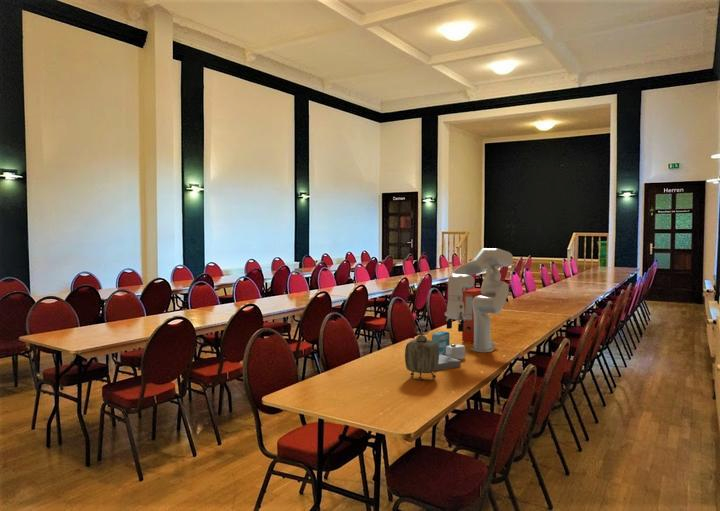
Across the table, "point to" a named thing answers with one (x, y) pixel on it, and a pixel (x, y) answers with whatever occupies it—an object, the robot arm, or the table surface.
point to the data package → (441, 341)
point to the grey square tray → (447, 362)
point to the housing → (455, 351)
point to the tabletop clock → (421, 355)
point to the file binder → (469, 314)
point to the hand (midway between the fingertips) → (454, 329)
